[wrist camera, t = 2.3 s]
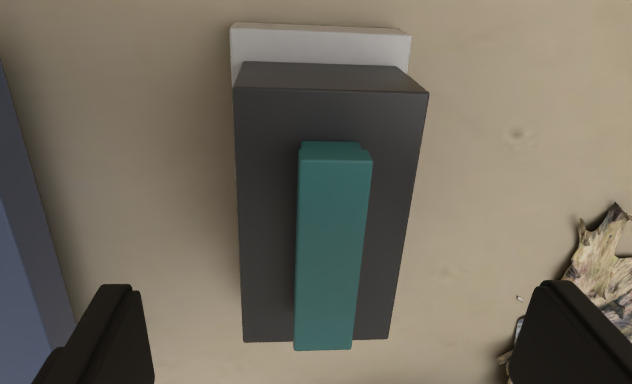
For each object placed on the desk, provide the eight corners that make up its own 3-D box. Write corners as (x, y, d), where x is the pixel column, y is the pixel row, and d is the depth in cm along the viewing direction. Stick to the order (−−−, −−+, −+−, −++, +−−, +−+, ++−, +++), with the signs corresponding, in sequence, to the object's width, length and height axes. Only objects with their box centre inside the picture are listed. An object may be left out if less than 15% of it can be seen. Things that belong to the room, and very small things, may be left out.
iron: (234, 21, 15) (202, 57, 9) (399, 28, 16) (478, 66, 9) (245, 313, 21) (231, 453, 15) (363, 311, 22) (396, 445, 16)
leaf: (487, 422, 27) (502, 454, 25) (511, 212, 20) (534, 235, 18) (661, 396, 27) (687, 425, 25) (745, 179, 20) (790, 198, 18)
